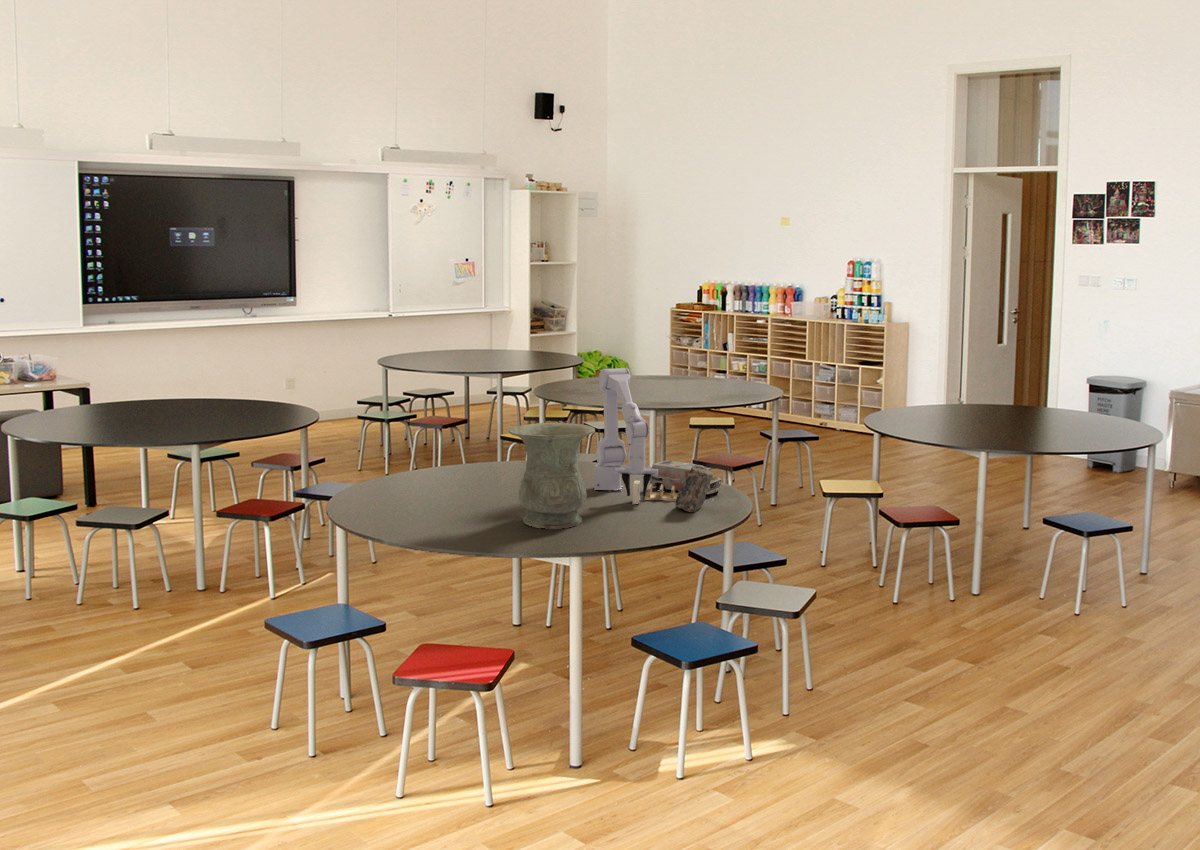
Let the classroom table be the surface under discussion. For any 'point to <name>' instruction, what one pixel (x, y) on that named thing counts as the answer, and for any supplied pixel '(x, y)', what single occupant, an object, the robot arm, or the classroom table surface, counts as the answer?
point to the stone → (694, 489)
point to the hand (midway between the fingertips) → (636, 495)
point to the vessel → (552, 474)
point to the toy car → (678, 476)
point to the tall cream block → (636, 492)
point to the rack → (661, 494)
